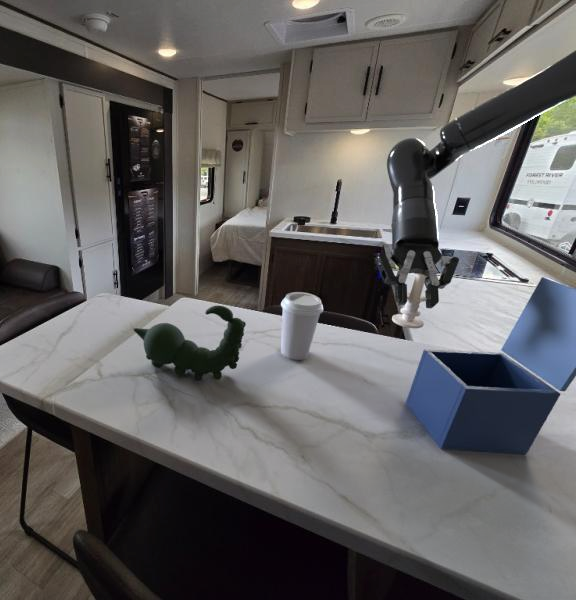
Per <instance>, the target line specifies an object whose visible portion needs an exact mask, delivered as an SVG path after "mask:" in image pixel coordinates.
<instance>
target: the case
mask: <svg viewBox="0 0 576 600" xmlns="http://www.w3.org/2000/svg"><path fill="white" fill-rule="evenodd" d="M413 377H414V378H413V380H412V383H411V385H410V389H409V392H408V394H407V398H406V401H405V405H406V406H407V407H408V409H409V410H410V411H411V412H412V414H413V415H414V416H415V417H416V419H417V420H418V422H419V423H420V424H421V425H422V426H423V428H424V429H425V431H426V432H427V433H428V434H429V436H430V437H431V438H432V440H433V441H434V442H435V444H436V445H437V446H438V447H439V449H441V450H451V451H465V452H466V451H468V452H480V453H481V452H483V453H498V454H511V455H528V452H529V451H530V449H531V447H532V446H533V444H534V442H535V440H536V438H537V437H538V436H539V433H540V432H541V430H542V428H543V426H544V425H545V423H546V421H547V419H548V417H549V416H550V415H551V412H552V411H553V409H554V407H555V405H556V403H557V402H558V400H559V399H560V396H561V393H560V391H557V389H556V388H553V386H550V384H548V383H547V382H545V381H544V380H543V379H541V378H540V377H539V378H538V376H537V375H535V374H534V373H533V372H531V371H530V370H528V369H527V368H525V367H524V366H523V365H521V364H520V363H519V364H518V362H517V361H515V360H514V359H512V358H511V357H510V356H508V355H507V354H505V353H504V352H495V351H494V352H493V351H492V352H491V351H471V350H470V351H468V350H446V349H445V350H444V349H423V351H422V354H421V357H420V360H419V362H418V365H417V369H416V372H415V374H414V376H413Z"/></svg>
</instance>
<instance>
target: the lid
mask: <svg viewBox="0 0 576 600" xmlns="http://www.w3.org/2000/svg"><path fill="white" fill-rule="evenodd" d="M500 352H502V353H503V354H505V355H506V356H508V357H509V358H510V359H512V360H513V361H515V362H516V363H519V365H521V366H522V367H523V368H525V369H526V370H528V371H529V372H531V373H532V374H534V375H535V376H537V377H539V379H541V380H542V381H544V382H545V383H547V384H548V385H551V387H552V388H553V387H554V389H555V390H558V392H566V391H567V390H568V388H569V386H570V385H571V384H572V382H573V381H574V380H575V378H576V287H572V286H570V285H567V284H565V283H562V282H559V281H556V280H555V279H552V278H549V277H547V276H546V277H545V276H542V277H541V278H540V280H539V281H538V283H537V285H536V287H535V289H534V290H533V292H532V294H531V296H530V297H529V299H528V301H527V302H526V304H525V306H524V308H523V310H522V312H521V313H520V316H519V317H518V319H517V320H516V322H515V324H514V326H513V328H512V329H511V331H510V332H509V335H508V337H507V338H506V340H505V342H504V344H503V345H502V347H501V349H500Z"/></svg>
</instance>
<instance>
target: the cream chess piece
mask: <svg viewBox="0 0 576 600" xmlns="http://www.w3.org/2000/svg"><path fill="white" fill-rule="evenodd" d="M425 277H426V276H424V275H422V273H421V274H416V275H415V277H414V279H413V284H412V287H411V290H410V292H407V303H406V304H405V305H404V307H402V308H400V313H397V314H393V315H392V317H391V320H392V322H393V323H394V324H396V325H398V326H399V327H400V326H401V327H403V328H407V329H421V328H423V327H424V324H425V322H424V320H422V318H420V316H421V312H420V310H419V309H420V304H421V303H422V302H423V303H424V302H426V300H427V298H426V297H425V295H422V293H423V289H424V286H425V283H424V282H425Z"/></svg>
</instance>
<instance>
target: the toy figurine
mask: <svg viewBox="0 0 576 600" xmlns="http://www.w3.org/2000/svg"><path fill="white" fill-rule="evenodd" d="M204 314H205V315H212V314H213V315H216V316H217V317H219V318H220V319H221V320H223V321H224V322H227V324H226V326H227V328H225V329H224V332H223V338H221V340H220V341H219V345H218V346H217V347H216V348H215V349H212V350H211V349H209V348H207V347H202V346H200V347H199V346H198V344H197V343H195V341H192V340H190V339H185V336H184V334H183V332H182V330H181V329H180V328H179V327H178V326H176V325H174V324H171V323H168V322H161V323H157V324H155V325H152V326H151V327H150V328H141V327H140V328H139V327H134V328H133V332H134V333H136V335H138V337H139V338H140V339H141V340H142V341H143V349H144V352H145V357H146V359H147V360H151V361H150V362H151V365H152V366H153V367H154V368H156V369H157V368H158V369H159V368H162V367H164V366H165V365H170V364H173V365H174V368H173V371H174V375H176V376H178V377H183V376H184V375H185V374H186V371H191V372H192V373H194V374H193V378H194V380H195V381H197V382H200V381H202V380H203V378H204V376H205V375H208V374H209V373H210V374H212V378H213V379H214V380H215V381H216V380H217V381H219V380H221V379H222V377H223V373H222V371H223V370H225V369H226V367H229V369H231V370H234V369H237V367H238V362H239V360H240V349H241V348H242V347H243V344H242V342H243V341H242V340H243V337H244V336H245V333H244V331H245V327H246V325H247V324H246V321H244V320H242V319H241V318H239V317H234V313H233V311H232V310H231V309H230V308H228V307H226V306H224V305H212V306H210V307H208V308H207V309H206V310H205V312H204Z"/></svg>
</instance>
